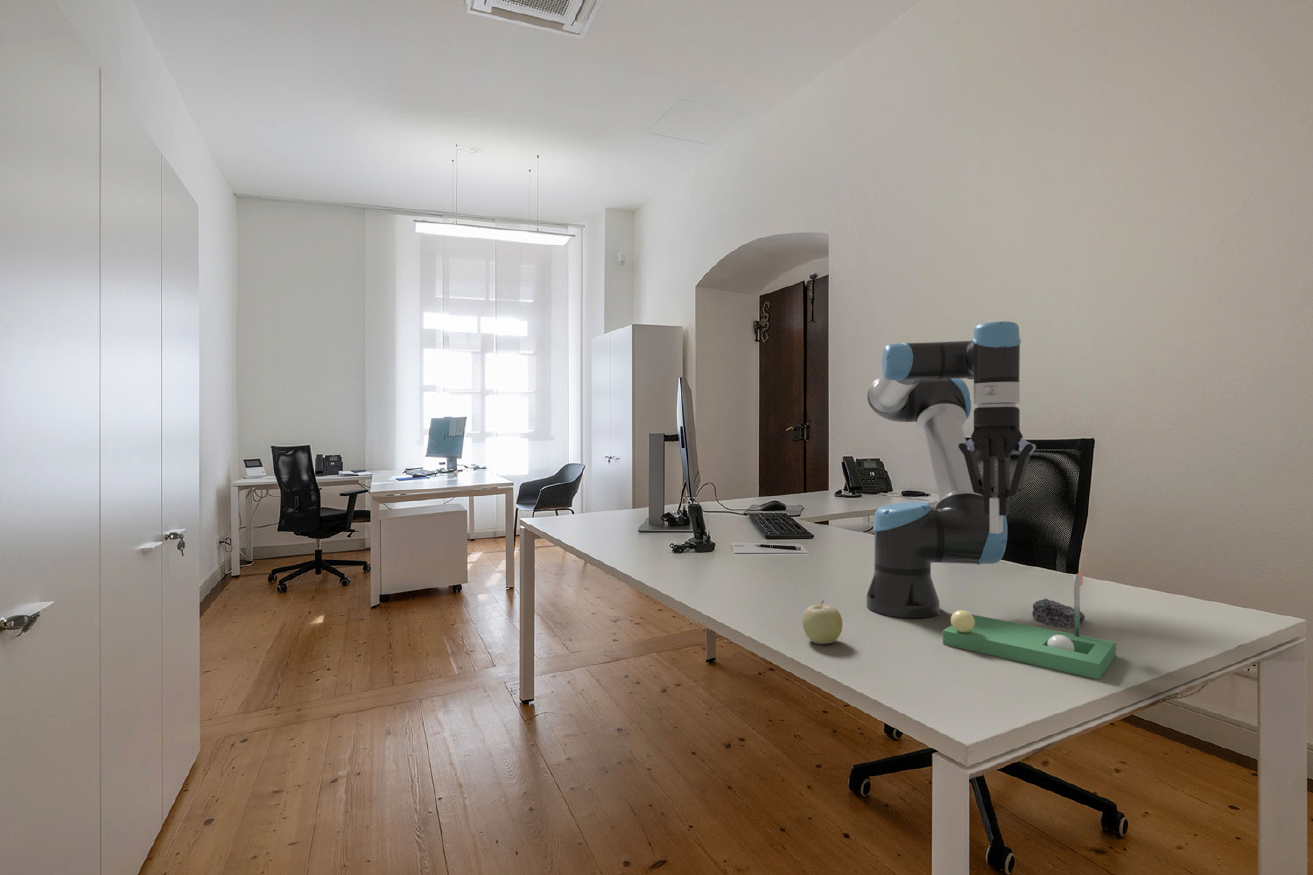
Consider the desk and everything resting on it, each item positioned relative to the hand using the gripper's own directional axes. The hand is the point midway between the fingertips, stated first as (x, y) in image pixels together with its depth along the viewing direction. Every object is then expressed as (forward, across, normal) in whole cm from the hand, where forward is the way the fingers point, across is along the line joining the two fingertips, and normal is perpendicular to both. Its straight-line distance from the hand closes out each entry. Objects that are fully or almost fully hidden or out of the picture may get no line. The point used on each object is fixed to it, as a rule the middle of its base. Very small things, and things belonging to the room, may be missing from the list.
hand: (996, 532), depth 116 cm
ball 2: (+19, +11, -2) cm, 22 cm away
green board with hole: (+21, +5, -1) cm, 21 cm away
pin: (+18, +12, +7) cm, 23 cm away
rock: (+21, +4, +22) cm, 31 cm away
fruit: (+21, -23, -23) cm, 39 cm away
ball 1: (+16, -4, -7) cm, 18 cm away
